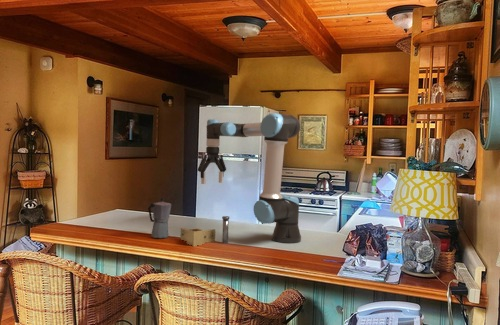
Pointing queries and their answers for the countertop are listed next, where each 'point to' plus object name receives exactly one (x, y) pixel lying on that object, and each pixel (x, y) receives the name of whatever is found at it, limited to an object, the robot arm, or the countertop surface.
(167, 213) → the moka pot
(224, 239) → the pin
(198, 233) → the wooden box
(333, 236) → the countertop surface
